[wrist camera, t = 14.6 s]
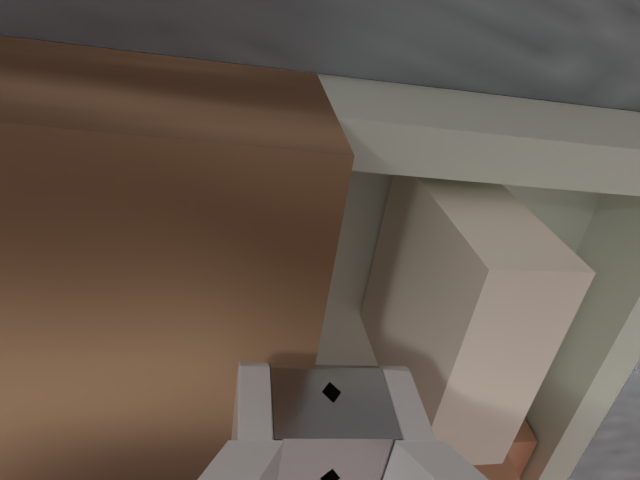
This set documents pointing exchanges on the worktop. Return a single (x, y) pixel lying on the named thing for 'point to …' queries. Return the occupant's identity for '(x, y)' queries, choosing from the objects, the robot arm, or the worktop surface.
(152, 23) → the worktop surface
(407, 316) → the tile
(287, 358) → the wooden box
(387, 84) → the tray
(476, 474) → the robot arm
